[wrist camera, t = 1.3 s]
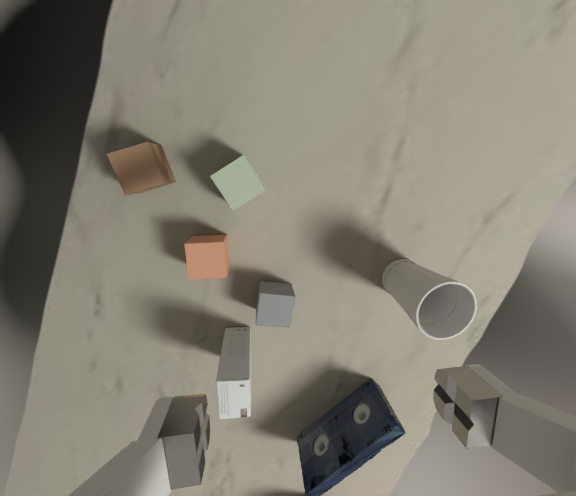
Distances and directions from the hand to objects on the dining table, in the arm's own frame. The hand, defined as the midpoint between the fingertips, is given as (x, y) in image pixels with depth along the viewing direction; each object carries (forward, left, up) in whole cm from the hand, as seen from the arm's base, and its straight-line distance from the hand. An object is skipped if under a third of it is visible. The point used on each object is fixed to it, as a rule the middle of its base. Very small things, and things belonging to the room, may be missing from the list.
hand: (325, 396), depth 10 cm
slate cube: (+12, 0, -34) cm, 36 cm away
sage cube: (-6, -5, -34) cm, 35 cm away
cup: (+10, +20, -34) cm, 41 cm away
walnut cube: (-8, -17, -34) cm, 38 cm away
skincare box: (+20, -6, -34) cm, 40 cm away
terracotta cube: (+4, -10, -34) cm, 35 cm away
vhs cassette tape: (+36, +11, -34) cm, 50 cm away
